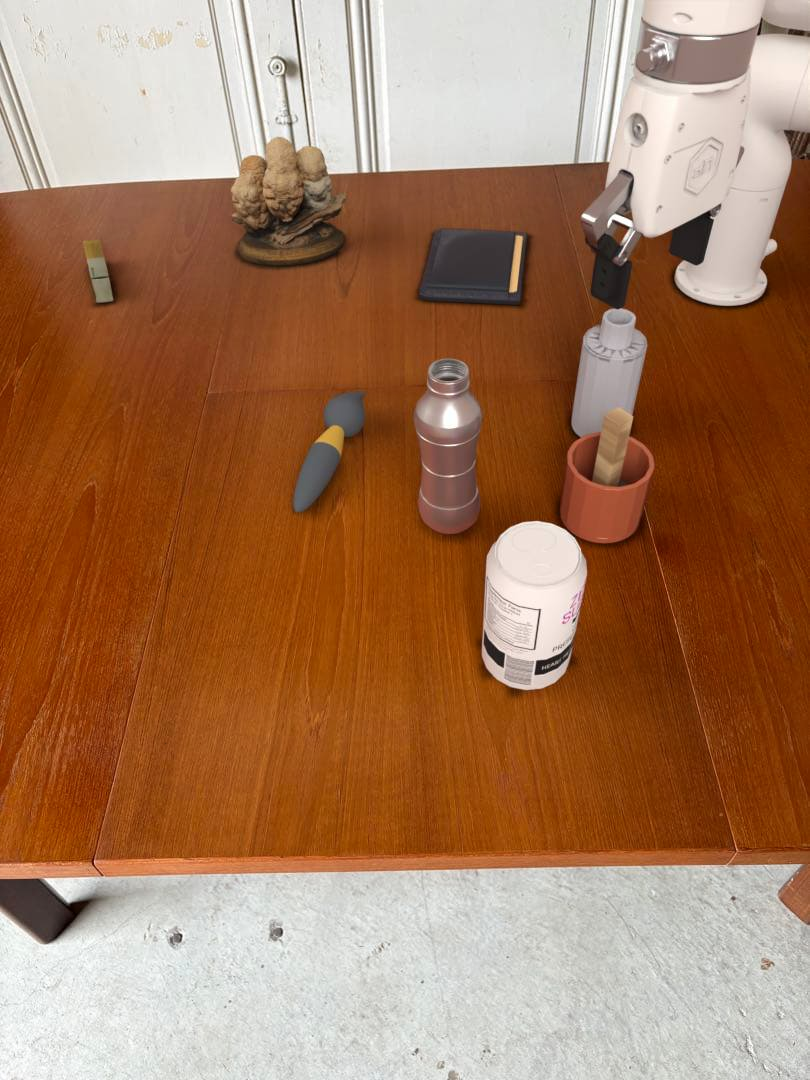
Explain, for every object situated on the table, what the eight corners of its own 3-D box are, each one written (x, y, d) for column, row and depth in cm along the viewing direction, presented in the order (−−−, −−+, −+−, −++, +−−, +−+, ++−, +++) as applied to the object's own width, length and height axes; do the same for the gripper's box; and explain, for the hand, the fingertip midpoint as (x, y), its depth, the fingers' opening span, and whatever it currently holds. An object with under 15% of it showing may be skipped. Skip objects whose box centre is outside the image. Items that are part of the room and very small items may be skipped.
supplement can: (475, 625, 79) (479, 520, 68) (559, 617, 80) (577, 512, 68) (488, 697, 74) (494, 597, 63) (577, 689, 74) (600, 587, 63)
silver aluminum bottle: (475, 545, 86) (480, 395, 71) (412, 537, 87) (405, 388, 72) (483, 502, 90) (490, 352, 75) (423, 495, 91) (418, 346, 76)
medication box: (115, 302, 121) (109, 277, 118) (96, 304, 120) (90, 279, 117) (105, 261, 128) (99, 237, 125) (87, 263, 127) (81, 239, 124)
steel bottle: (598, 399, 101) (616, 292, 90) (640, 426, 98) (665, 318, 86) (559, 423, 99) (573, 315, 87) (601, 451, 95) (622, 343, 84)
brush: (605, 490, 90) (624, 397, 80) (626, 505, 88) (648, 412, 78) (573, 512, 88) (589, 419, 78) (594, 527, 86) (613, 434, 76)
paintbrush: (330, 524, 89) (325, 491, 85) (287, 518, 90) (280, 485, 86) (375, 410, 102) (372, 377, 98) (337, 405, 103) (333, 373, 99)
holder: (597, 475, 92) (607, 420, 86) (656, 516, 88) (672, 462, 82) (543, 510, 89) (549, 457, 83) (602, 556, 84) (613, 502, 78)
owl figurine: (348, 223, 134) (337, 114, 121) (353, 260, 126) (342, 147, 113) (238, 233, 133) (216, 124, 120) (236, 271, 125) (212, 159, 112)
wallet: (435, 220, 129) (532, 225, 127) (435, 231, 131) (531, 237, 128) (413, 288, 116) (520, 295, 114) (414, 300, 118) (519, 307, 115)
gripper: (652, 100, 49) (610, 340, 62) (819, 30, 56) (749, 260, 69) (562, 68, 53) (539, 300, 66) (727, 7, 60) (678, 227, 73)
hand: (647, 279), depth 67 cm, fingers open, 9 cm apart
